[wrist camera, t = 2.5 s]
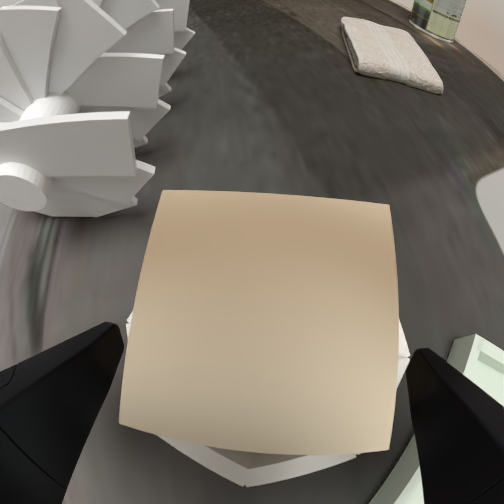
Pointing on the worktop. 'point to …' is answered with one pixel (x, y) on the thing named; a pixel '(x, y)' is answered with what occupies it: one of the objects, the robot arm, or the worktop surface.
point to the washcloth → (388, 55)
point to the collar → (263, 464)
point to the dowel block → (265, 324)
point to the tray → (407, 468)
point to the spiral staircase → (83, 99)
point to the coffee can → (437, 17)
